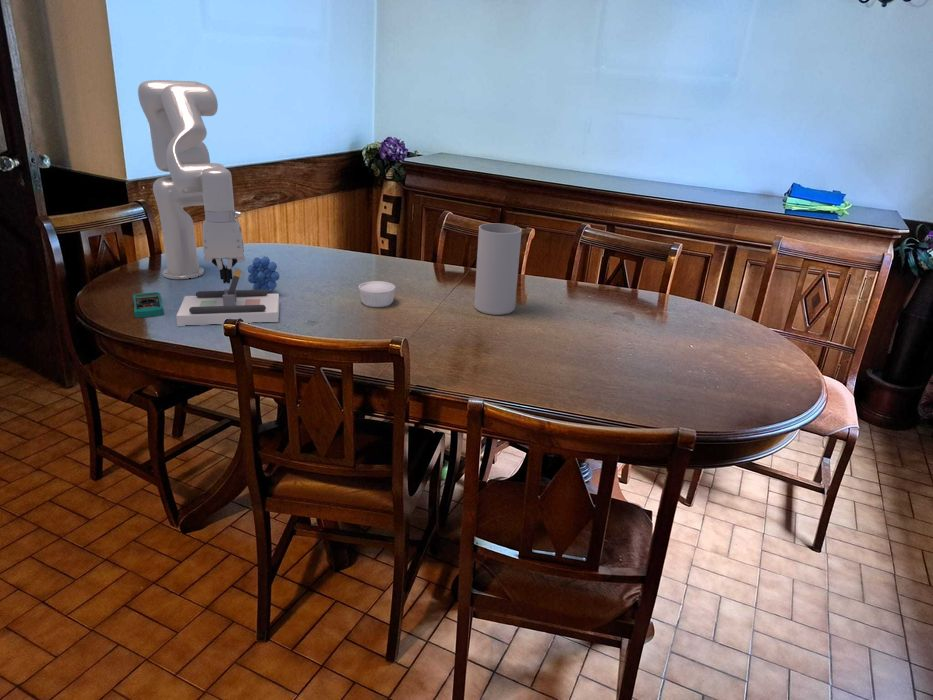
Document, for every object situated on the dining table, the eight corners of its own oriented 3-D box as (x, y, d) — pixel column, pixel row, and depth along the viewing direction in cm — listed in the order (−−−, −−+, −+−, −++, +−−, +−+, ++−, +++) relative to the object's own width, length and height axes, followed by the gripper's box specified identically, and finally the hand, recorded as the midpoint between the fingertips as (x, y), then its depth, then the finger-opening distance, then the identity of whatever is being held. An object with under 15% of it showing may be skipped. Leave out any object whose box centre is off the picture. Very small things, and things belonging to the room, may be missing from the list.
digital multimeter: (135, 320, 178) (133, 310, 177) (133, 302, 190) (132, 293, 189) (164, 317, 181) (163, 307, 180) (161, 300, 193) (159, 290, 192)
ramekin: (366, 294, 206) (365, 278, 204) (400, 298, 204) (400, 282, 202) (353, 306, 196) (353, 289, 194) (388, 310, 194) (388, 294, 192)
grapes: (288, 292, 203) (286, 255, 199) (275, 298, 198) (272, 260, 193) (258, 286, 207) (255, 249, 203) (244, 292, 202) (240, 254, 197)
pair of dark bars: (196, 296, 187) (195, 290, 187) (267, 294, 192) (267, 288, 191) (189, 314, 174) (188, 308, 174) (265, 312, 179) (265, 305, 178)
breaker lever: (224, 298, 184) (234, 267, 181) (233, 300, 185) (243, 270, 182) (223, 301, 181) (233, 270, 178) (232, 304, 182) (242, 273, 179)
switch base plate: (186, 305, 188) (183, 284, 186) (279, 302, 195) (278, 282, 192) (177, 326, 174) (174, 303, 172) (278, 322, 180) (276, 300, 178)
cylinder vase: (468, 311, 196) (473, 229, 186) (481, 299, 207) (486, 221, 197) (507, 318, 193) (514, 235, 183) (519, 305, 204) (526, 226, 193)
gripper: (250, 213, 178) (255, 277, 186) (192, 213, 175) (200, 278, 182) (248, 219, 172) (254, 285, 179) (188, 219, 168) (196, 286, 175)
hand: (226, 281), depth 180 cm, fingers closed
